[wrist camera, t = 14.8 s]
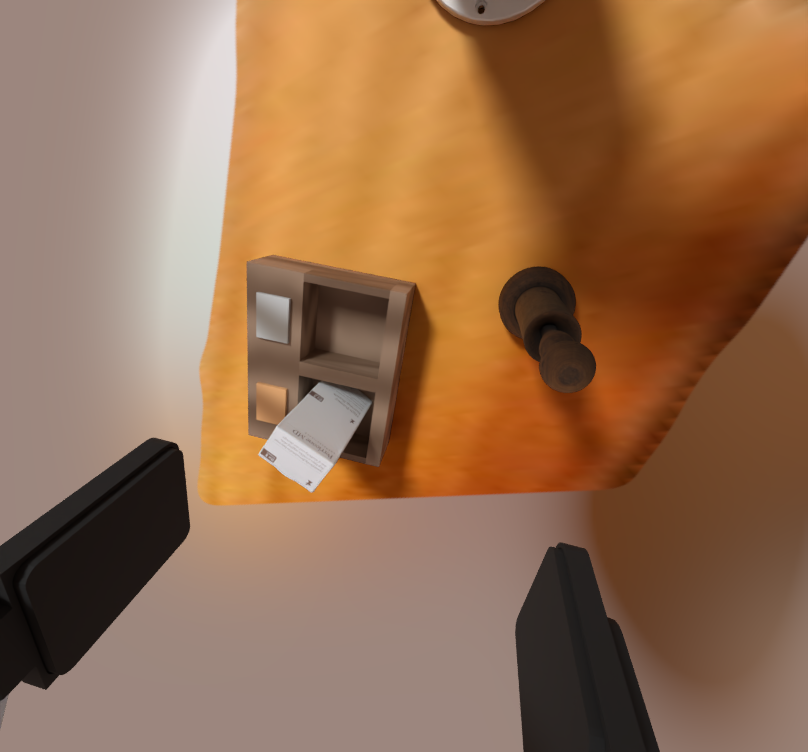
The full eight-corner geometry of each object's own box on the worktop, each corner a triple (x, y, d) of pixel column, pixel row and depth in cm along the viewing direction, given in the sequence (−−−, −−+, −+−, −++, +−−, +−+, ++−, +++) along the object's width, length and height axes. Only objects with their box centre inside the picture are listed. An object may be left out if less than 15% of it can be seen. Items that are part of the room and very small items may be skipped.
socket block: (272, 254, 41) (244, 262, 36) (415, 283, 39) (406, 294, 35) (270, 413, 49) (246, 436, 44) (388, 441, 48) (377, 469, 43)
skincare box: (374, 400, 44) (339, 465, 34) (354, 426, 46) (314, 496, 35) (328, 367, 44) (277, 423, 33) (310, 396, 46) (255, 457, 35)
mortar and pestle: (517, 345, 40) (540, 444, 24) (486, 289, 39) (488, 355, 22) (583, 312, 38) (657, 397, 22) (552, 252, 36) (608, 294, 20)
